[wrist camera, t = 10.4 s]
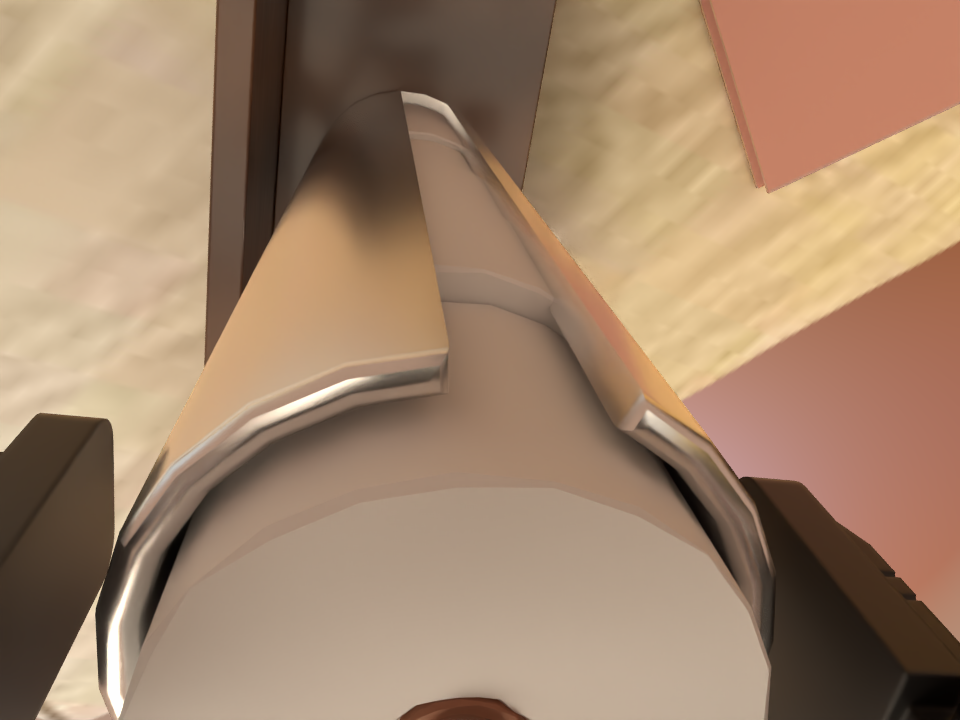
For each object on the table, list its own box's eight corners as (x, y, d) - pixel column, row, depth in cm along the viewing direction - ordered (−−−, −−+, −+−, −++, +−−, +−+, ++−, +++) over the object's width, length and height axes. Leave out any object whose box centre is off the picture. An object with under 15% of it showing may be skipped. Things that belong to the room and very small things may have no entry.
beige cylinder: (525, 182, 30) (973, 717, 7) (405, 301, 31) (459, 1072, 8) (399, 49, 28) (463, 213, 5) (275, 183, 29) (-132, 807, 6)
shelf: (296, -143, 33) (224, -270, 18) (533, -96, 34) (643, -176, 20) (264, 350, 41) (197, 536, 26) (457, 370, 43) (494, 556, 28)
